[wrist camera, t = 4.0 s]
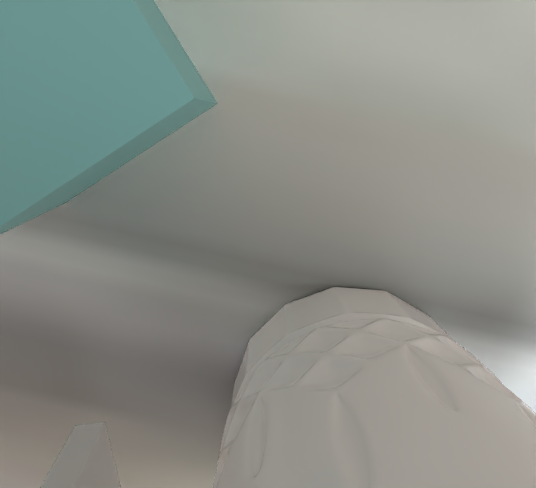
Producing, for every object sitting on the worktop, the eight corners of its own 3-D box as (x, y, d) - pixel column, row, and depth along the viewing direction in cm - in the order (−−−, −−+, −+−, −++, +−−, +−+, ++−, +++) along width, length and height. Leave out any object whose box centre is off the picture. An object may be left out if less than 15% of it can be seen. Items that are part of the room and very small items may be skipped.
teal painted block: (217, 103, 13) (194, 98, 8) (65, 202, 13) (-44, 255, 8) (101, -84, 11) (-11, -229, 6) (-60, 35, 12) (-273, -17, 7)
